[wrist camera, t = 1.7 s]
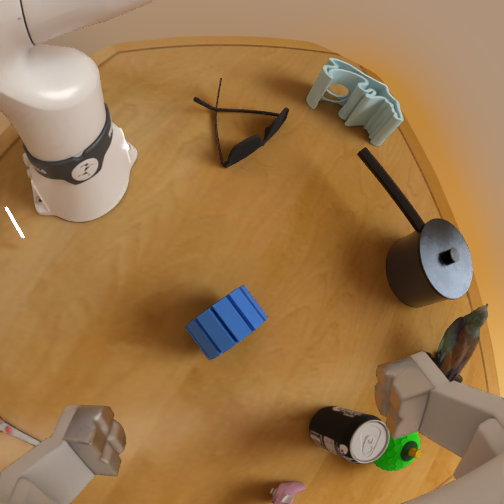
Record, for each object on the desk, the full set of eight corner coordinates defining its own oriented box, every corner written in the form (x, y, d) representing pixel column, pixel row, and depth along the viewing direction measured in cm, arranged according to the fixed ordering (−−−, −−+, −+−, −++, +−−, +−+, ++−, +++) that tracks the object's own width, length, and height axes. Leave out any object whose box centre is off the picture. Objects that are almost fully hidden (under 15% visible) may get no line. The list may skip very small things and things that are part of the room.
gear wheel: (183, 329, 42) (185, 324, 34) (236, 292, 45) (250, 278, 37) (206, 359, 41) (213, 361, 33) (257, 320, 45) (276, 313, 36)
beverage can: (348, 405, 44) (396, 415, 33) (342, 445, 41) (387, 463, 30) (310, 404, 43) (352, 417, 31) (303, 445, 40) (342, 468, 29)
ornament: (405, 425, 44) (444, 433, 35) (386, 467, 41) (423, 481, 32) (372, 414, 44) (411, 422, 35) (351, 458, 41) (387, 475, 32)
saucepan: (315, 190, 54) (345, 154, 43) (361, 161, 59) (391, 128, 48) (413, 324, 51) (458, 314, 40) (446, 279, 55) (487, 264, 45)
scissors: (66, 458, 32) (63, 461, 31) (-40, 428, 27) (-45, 429, 26) (61, 409, 34) (57, 410, 33) (-45, 384, 29) (-50, 384, 28)
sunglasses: (234, 82, 58) (239, 65, 53) (290, 124, 57) (299, 108, 52) (170, 123, 51) (171, 104, 47) (230, 174, 51) (236, 156, 46)
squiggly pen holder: (381, 118, 65) (402, 94, 56) (379, 148, 61) (403, 122, 53) (311, 83, 63) (327, 53, 54) (302, 109, 59) (319, 78, 51)
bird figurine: (436, 426, 45) (521, 367, 33) (400, 419, 44) (491, 354, 32) (428, 369, 55) (498, 308, 43) (394, 358, 55) (467, 289, 43)
